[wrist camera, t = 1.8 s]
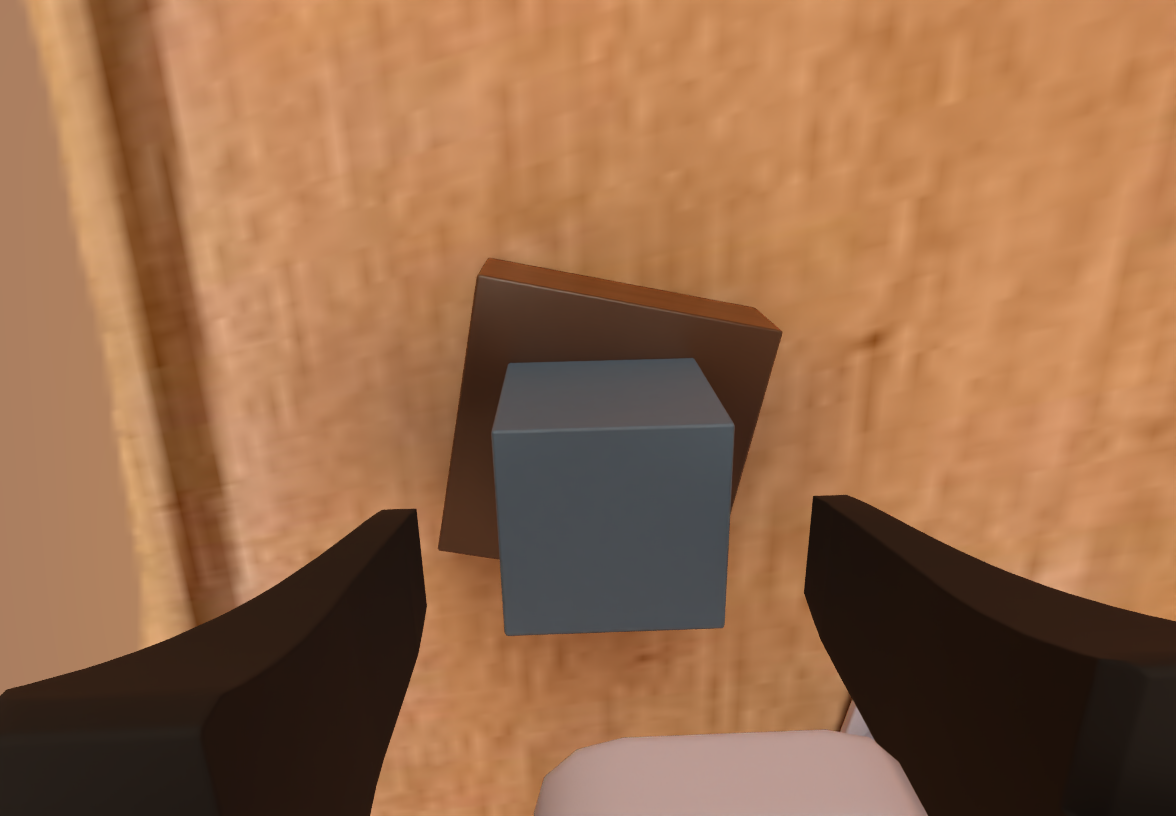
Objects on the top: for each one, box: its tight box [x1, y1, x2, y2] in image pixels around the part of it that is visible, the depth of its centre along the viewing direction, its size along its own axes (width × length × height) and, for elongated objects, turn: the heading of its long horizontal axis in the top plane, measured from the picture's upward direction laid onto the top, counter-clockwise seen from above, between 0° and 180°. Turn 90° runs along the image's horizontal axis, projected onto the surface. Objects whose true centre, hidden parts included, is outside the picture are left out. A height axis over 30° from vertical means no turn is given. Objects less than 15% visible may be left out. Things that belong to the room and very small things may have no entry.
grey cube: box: [491, 358, 735, 636], centre depth 16 cm, size 4×4×4 cm
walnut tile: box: [438, 258, 782, 560], centre depth 19 cm, size 7×7×3 cm
